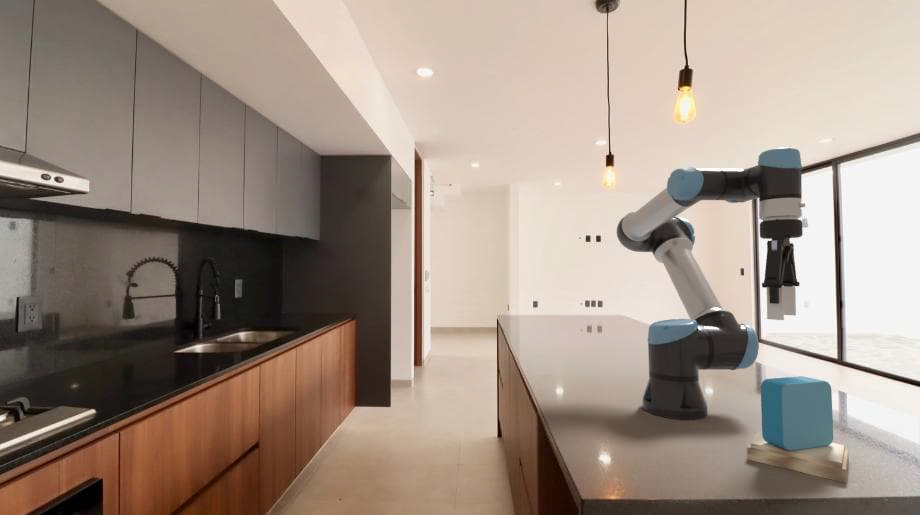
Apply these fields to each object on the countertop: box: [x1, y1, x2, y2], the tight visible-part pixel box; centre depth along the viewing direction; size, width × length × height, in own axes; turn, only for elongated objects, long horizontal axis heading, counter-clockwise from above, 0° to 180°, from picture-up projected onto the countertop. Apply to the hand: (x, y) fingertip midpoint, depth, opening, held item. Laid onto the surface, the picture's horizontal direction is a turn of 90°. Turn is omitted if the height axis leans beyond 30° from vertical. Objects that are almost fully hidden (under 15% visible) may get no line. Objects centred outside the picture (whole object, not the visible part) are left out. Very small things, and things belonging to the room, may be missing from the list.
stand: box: [746, 428, 850, 484], centre depth 82 cm, size 14×12×3 cm
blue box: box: [760, 375, 834, 451], centre depth 82 cm, size 12×4×12 cm, turn 105°
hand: (782, 317), depth 94 cm, fingers open, 13 cm apart
